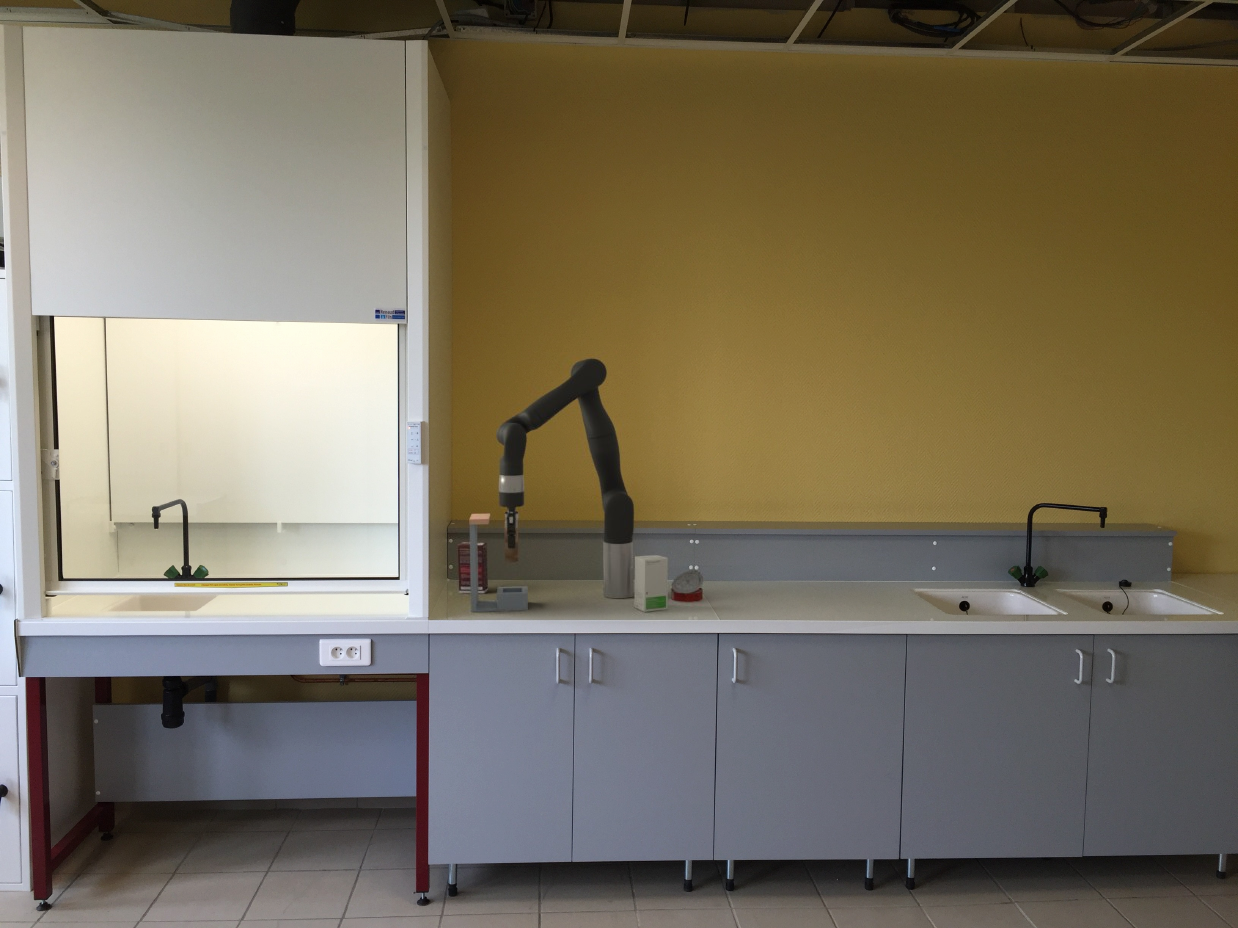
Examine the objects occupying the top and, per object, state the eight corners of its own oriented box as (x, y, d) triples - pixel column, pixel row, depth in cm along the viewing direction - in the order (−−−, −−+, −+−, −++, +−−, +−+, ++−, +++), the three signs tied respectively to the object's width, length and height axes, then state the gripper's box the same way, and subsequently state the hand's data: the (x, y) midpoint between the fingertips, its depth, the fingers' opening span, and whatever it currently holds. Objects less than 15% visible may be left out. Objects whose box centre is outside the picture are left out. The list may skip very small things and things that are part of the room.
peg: (518, 559, 248) (518, 519, 247) (518, 561, 244) (518, 521, 243) (505, 559, 248) (504, 520, 247) (504, 562, 244) (504, 522, 243)
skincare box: (644, 612, 240) (644, 560, 239) (633, 607, 246) (633, 556, 244) (668, 609, 244) (668, 557, 242) (657, 604, 250) (657, 553, 248)
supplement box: (488, 590, 268) (487, 542, 266) (484, 593, 263) (483, 544, 261) (462, 589, 268) (461, 541, 267) (458, 593, 264) (457, 544, 262)
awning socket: (527, 601, 253) (526, 512, 251) (527, 610, 242) (526, 518, 240) (473, 602, 251) (471, 513, 249) (470, 612, 240) (469, 519, 238)
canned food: (703, 613, 256) (712, 589, 252) (673, 613, 253) (683, 588, 248) (691, 589, 265) (700, 565, 261) (662, 589, 262) (671, 564, 257)
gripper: (524, 492, 238) (524, 551, 239) (524, 487, 252) (524, 542, 253) (497, 492, 237) (498, 551, 238) (499, 487, 251) (500, 542, 252)
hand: (511, 546), depth 246 cm, fingers closed on peg, 4 cm apart
